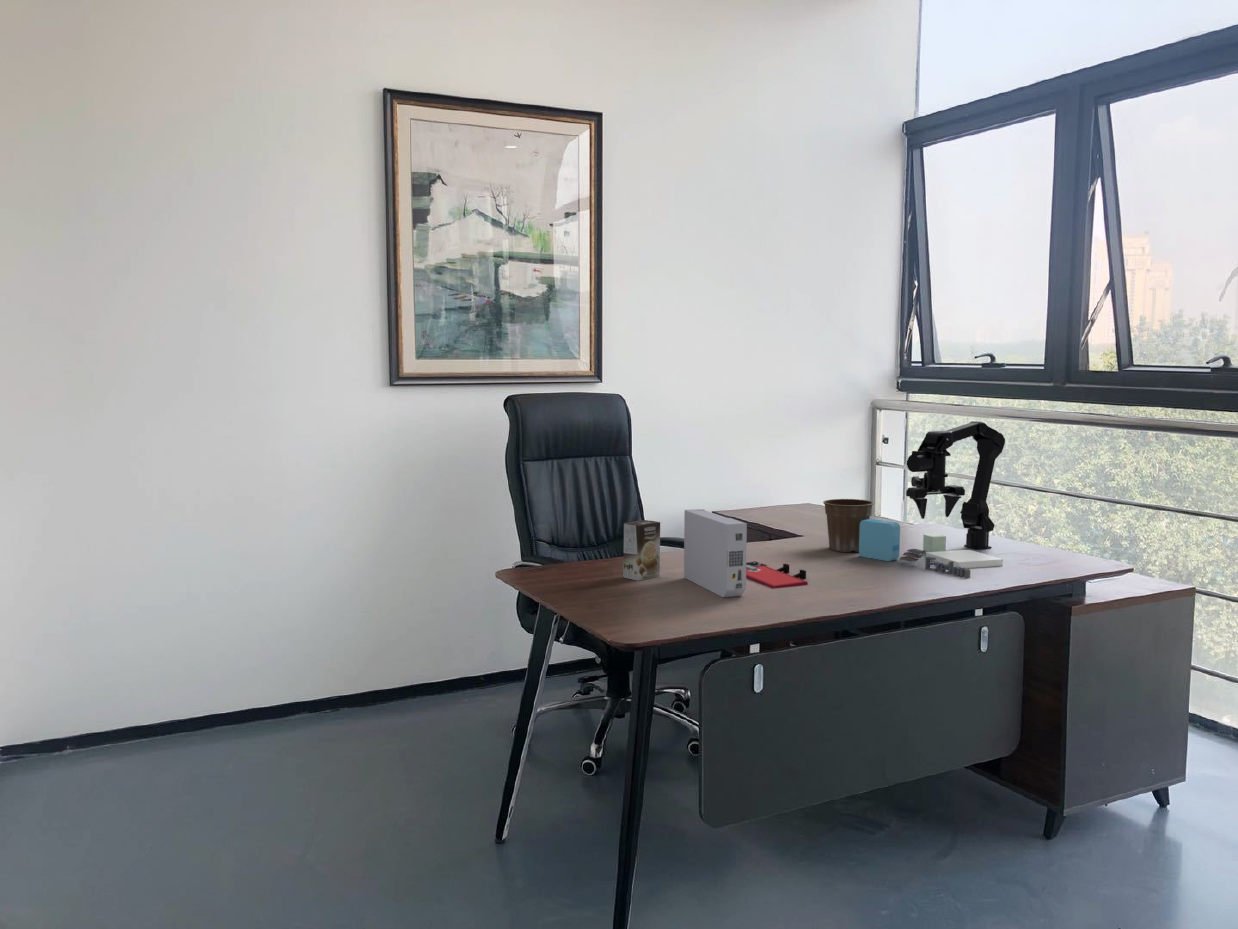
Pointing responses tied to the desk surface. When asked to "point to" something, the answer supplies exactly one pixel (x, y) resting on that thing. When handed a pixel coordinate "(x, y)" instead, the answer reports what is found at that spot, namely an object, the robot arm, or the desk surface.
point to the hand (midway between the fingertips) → (934, 517)
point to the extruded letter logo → (936, 564)
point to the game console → (715, 552)
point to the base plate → (966, 558)
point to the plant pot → (846, 522)
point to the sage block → (934, 543)
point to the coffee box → (641, 550)
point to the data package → (879, 539)
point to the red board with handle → (774, 575)
